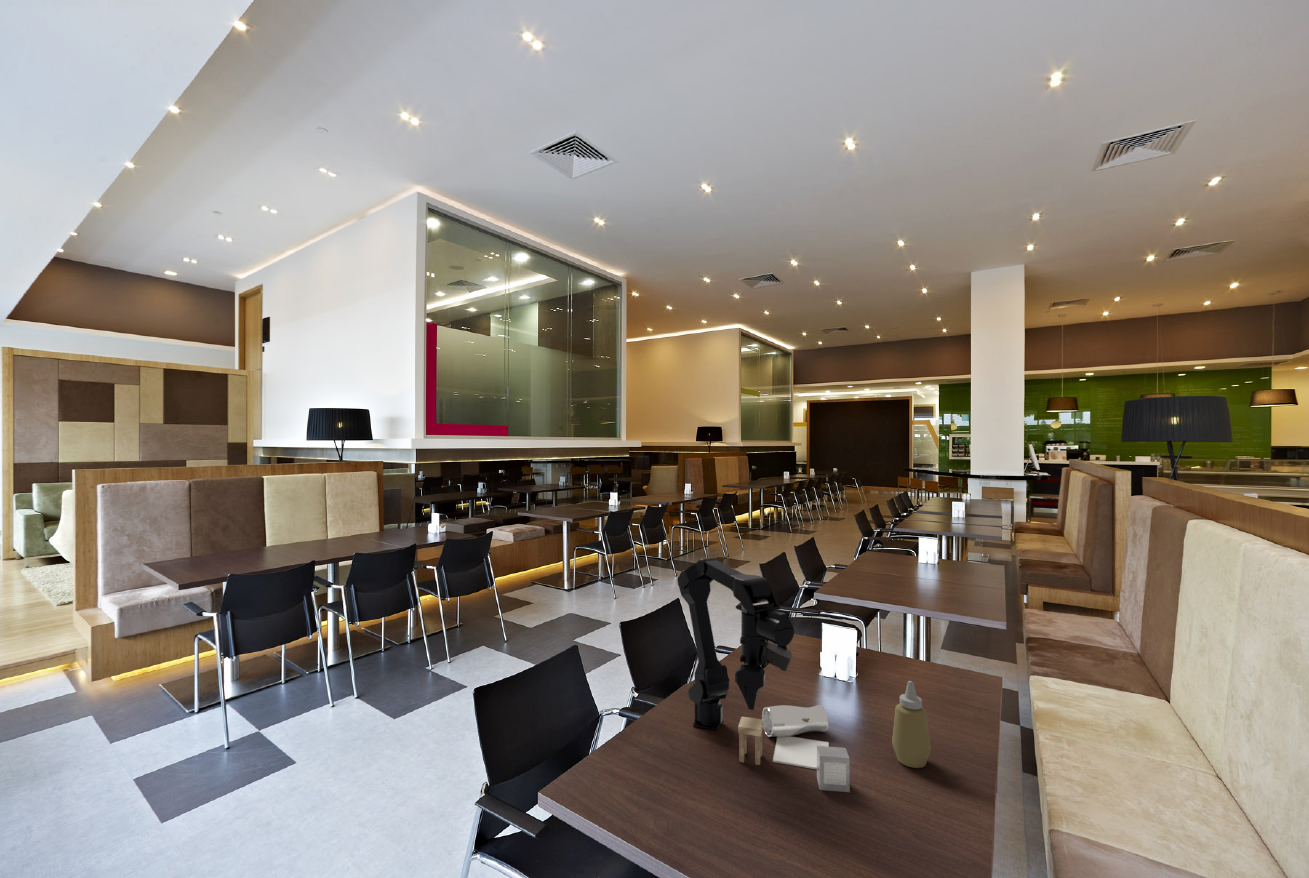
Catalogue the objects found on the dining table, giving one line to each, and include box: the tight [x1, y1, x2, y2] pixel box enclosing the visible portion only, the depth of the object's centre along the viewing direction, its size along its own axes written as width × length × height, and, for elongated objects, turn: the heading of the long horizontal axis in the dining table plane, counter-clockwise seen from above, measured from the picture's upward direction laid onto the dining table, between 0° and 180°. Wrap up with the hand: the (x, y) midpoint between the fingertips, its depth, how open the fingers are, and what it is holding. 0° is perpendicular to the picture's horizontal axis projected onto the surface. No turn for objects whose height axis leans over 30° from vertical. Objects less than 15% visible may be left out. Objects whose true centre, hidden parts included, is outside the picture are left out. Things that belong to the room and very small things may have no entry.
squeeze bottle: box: [891, 680, 932, 769], centre depth 126 cm, size 8×8×18 cm
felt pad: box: [772, 736, 830, 770], centre depth 129 cm, size 12×12×1 cm
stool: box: [737, 716, 764, 766], centre depth 127 cm, size 5×5×8 cm
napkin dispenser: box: [816, 746, 851, 793], centre depth 116 cm, size 6×4×7 cm
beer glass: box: [761, 704, 829, 738], centre depth 138 cm, size 7×7×15 cm
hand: (753, 700), depth 127 cm, fingers open, 9 cm apart
